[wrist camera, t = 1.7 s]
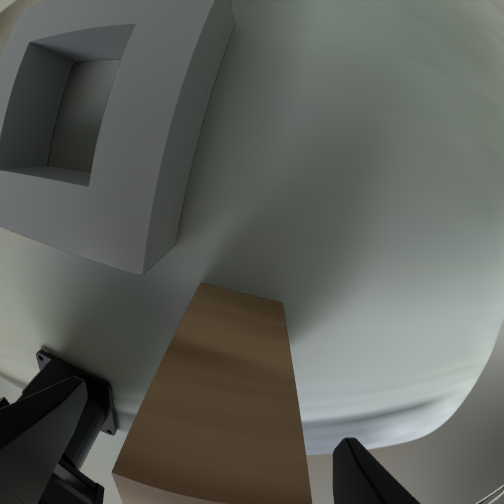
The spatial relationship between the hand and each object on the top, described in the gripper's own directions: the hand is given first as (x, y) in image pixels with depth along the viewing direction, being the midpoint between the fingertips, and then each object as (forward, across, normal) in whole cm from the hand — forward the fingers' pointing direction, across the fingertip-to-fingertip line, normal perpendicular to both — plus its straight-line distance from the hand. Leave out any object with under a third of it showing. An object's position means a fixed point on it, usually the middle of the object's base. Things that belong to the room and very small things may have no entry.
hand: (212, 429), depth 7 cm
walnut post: (+6, 0, 0) cm, 7 cm away
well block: (+6, +9, -9) cm, 14 cm away
